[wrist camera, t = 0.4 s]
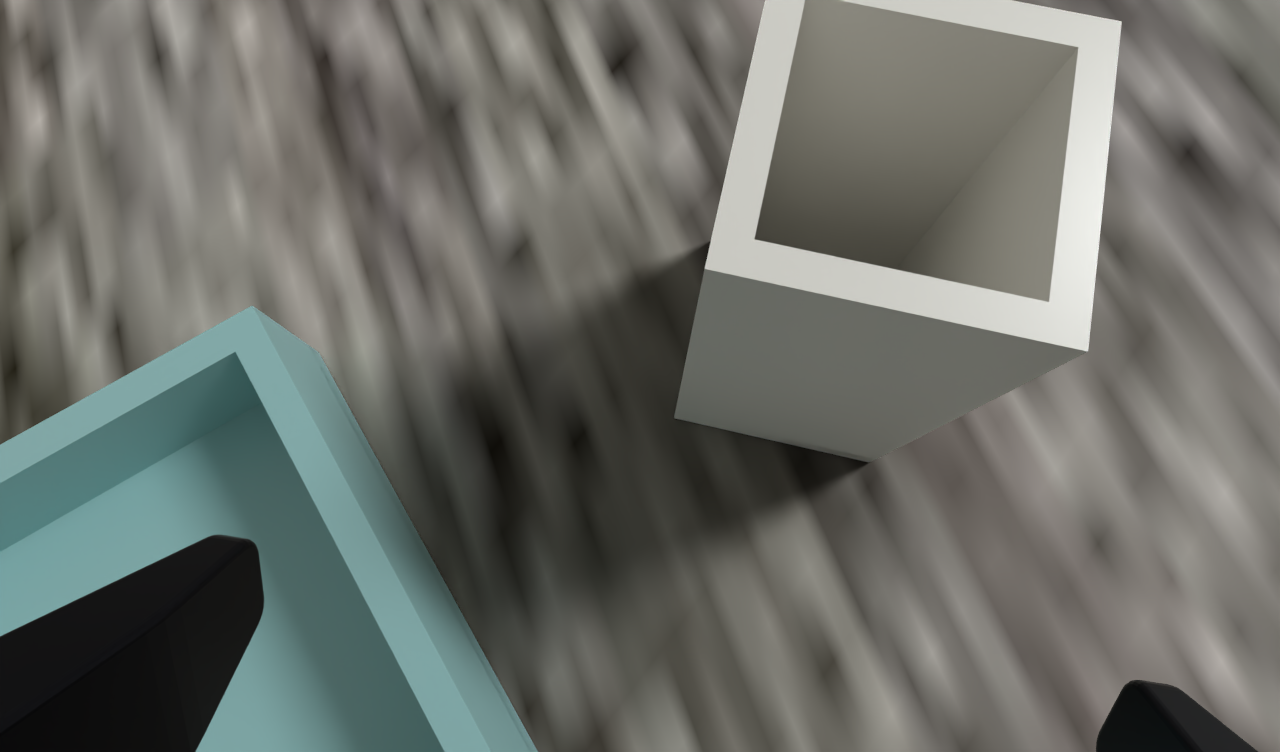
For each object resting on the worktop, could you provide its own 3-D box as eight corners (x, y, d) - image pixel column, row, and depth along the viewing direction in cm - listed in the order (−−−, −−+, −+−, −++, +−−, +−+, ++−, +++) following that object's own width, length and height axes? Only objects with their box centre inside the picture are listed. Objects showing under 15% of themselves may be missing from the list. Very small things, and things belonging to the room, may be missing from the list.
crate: (568, 807, 20) (551, 863, 16) (42, 1163, 18) (-120, 1322, 14) (318, 352, 23) (251, 305, 19) (-157, 622, 21) (-340, 632, 17)
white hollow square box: (899, 278, 23) (1122, 21, 12) (869, 462, 22) (1088, 351, 11) (714, 238, 23) (775, -45, 13) (673, 418, 22) (704, 269, 12)
